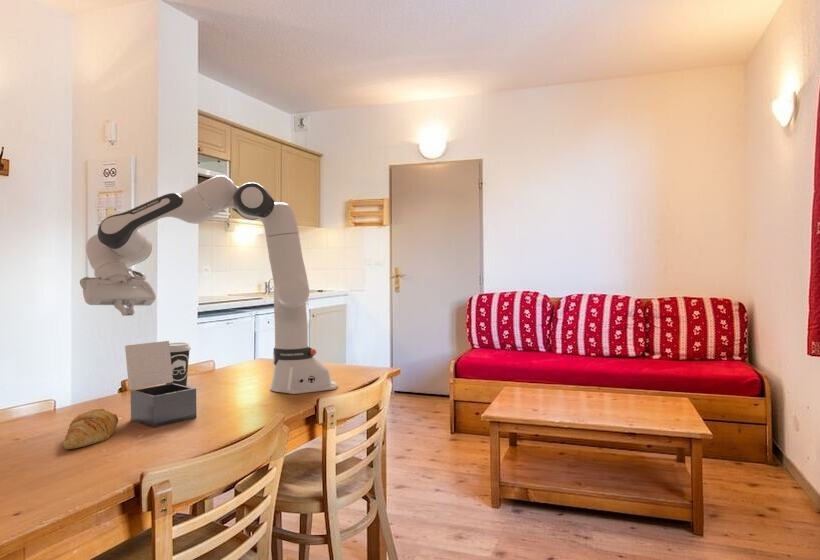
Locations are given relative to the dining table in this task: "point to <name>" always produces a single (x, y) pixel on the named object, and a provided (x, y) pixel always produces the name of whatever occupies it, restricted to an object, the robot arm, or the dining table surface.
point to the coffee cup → (179, 362)
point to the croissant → (90, 428)
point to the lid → (148, 364)
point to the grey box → (163, 404)
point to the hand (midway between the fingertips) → (128, 314)
